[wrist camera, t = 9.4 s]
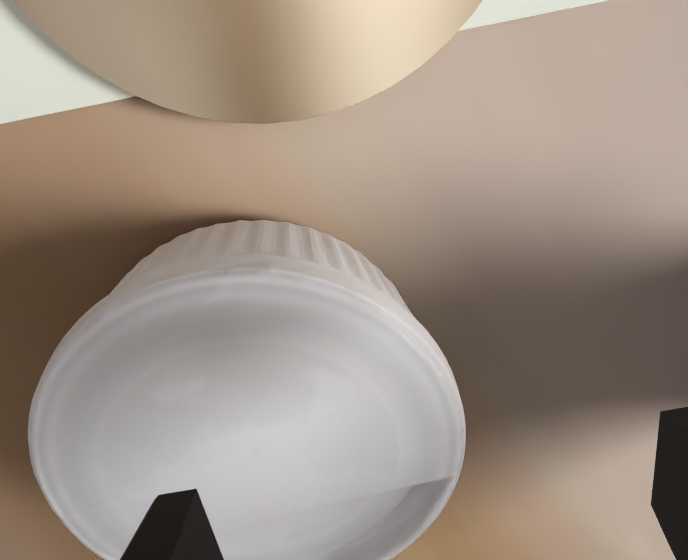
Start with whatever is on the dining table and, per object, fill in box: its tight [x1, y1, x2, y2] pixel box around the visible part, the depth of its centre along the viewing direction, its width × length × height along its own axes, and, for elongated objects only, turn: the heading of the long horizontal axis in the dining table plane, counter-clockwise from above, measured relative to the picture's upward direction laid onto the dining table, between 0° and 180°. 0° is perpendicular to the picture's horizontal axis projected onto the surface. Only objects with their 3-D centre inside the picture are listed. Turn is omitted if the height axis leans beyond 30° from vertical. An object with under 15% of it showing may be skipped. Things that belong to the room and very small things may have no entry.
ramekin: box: [28, 220, 466, 560], centre depth 19 cm, size 11×11×5 cm
